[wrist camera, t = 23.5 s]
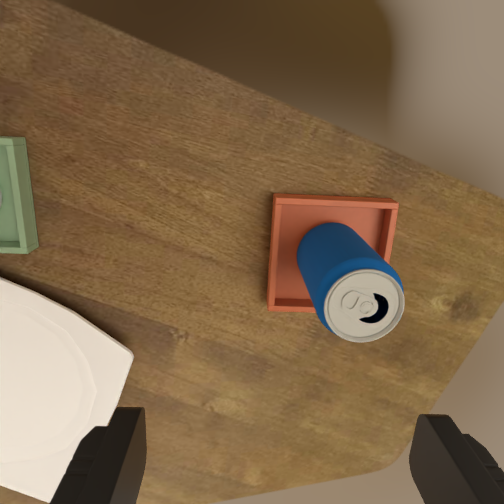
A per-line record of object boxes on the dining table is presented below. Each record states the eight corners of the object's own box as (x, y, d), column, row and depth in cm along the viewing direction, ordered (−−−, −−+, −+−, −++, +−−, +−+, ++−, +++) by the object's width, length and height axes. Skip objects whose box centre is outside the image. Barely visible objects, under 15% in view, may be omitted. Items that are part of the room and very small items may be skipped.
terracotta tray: (273, 193, 38) (275, 197, 36) (390, 198, 38) (399, 202, 36) (266, 301, 41) (267, 311, 39) (373, 304, 42) (380, 314, 40)
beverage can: (343, 291, 41) (383, 359, 29) (284, 269, 40) (303, 330, 28) (372, 234, 39) (427, 283, 28) (312, 210, 38) (343, 250, 27)
